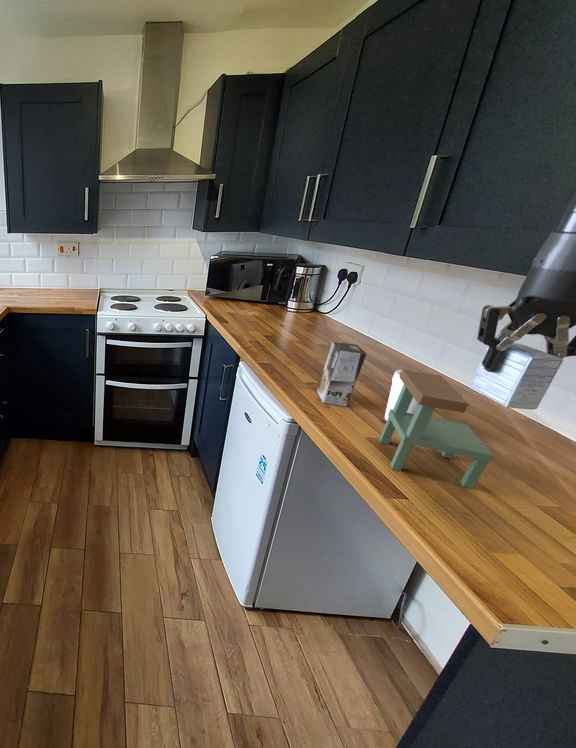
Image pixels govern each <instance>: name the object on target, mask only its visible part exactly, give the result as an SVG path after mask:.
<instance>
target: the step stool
mask: <svg viewBox="0 0 576 748" xmlns="http://www.w3.org/2000/svg"><path fill="white" fill-rule="evenodd" d="M401 370H402V372H401V374H400V377H399V378H400V379H401V380H402V382H403V383H404V385H403V387H402V390H401V392H400V394H399V397H398V399H397V402H396V404H395V406H394V409H393V410H391V409H390V411H389V414H388V416H389V417H388V419H387V421H386V422H385V424H384V427H383V429H382V431H381V434H380V436H379V439H378V441H379V443H380V444H384V445H389V444H390V441H391V439H392V437H393V435H394V432H395V431H396V433H397V435H398V437H399V439H400V442H399V444H398V446H397V448H396V451H395V453H394V455H393V458H392V459H391V462H390V464H389V465H390V469H391V470H394V471H398V472H401V471H402V468H403V466H404V464H405V462H406V460H407V458H408V455H409V453H410V451H411V449H412V447H413V446H415V447H421V448H425V449H429V450H434V451H439V452H441V455H442V457H443V458H446V459H450V460H453V459H454V456H455V455H457V456H461V457H466V458H470V459H472V460H471V462H470V463H469V466H468V467H467V469H466V470H465V473H464V474H463V476H462V478H461V479H460V482H459V483H460V484H461V486H462V487H463V488H468V489H471V490H474V488H475V486H476V485H477V483H478V481H479V480H480V477H481V476H482V474H483V473H484V470H486V467H487V465H488V463H492V461H493V459H494V456H495V454H493V453H492V451H490V449H489V448H488V447H487V445H485V443H484V442H483V441H482V440H481V439H480V438H479V437H478V435H477V434H476V433H475V431H473V430H472V428H471V427H470V426H469V425H468V424H467V423H461V422H457V421H451V420H447V419H442V418H436V417H432V416H433V414H434V411H435V410H436V409H441V410H445V411H450V412H457V413H462V414H465V413H466V410H467V409H468V406H469V405H470V404H469V402H467V400H466V399H465V398H464V397H463V396H462V395H461V394H460V393H459V392H458V391H457V390H456V389H455V388H454V387H453V386H452V385H451V384H450V383H449V382H448V381H447V380H446V379H445V378H444V377H443V376H442V375H439V374H434V373H427V372H421V371H417V372H416V370H410V369H401ZM413 397H414V399H415V400H416V401H417V403H418V404H419V405H418V407H417V409H416V412H415V414H411V413H407V410H408V408H409V406H410V404H411V401H412V399H413Z"/></svg>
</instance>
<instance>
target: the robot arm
mask: <svg viewBox="0 0 576 748" xmlns="http://www.w3.org/2000/svg"><path fill="white" fill-rule="evenodd" d="M519 288H520V289H519V290H518V293H517V296H516V297H515V299H514V300H513V301H512V302H511V303H509V304H508V305H505V306H504V305H503V306H493V305H490V304H488V305H484V306H483V307H482V310H481V314H480V315H481V316H480V320H479V326H478V331H477V340H478V341H479V342H480V343H482V344H484V345H485V346H488V347H489V349H488V348H487V349H488V351H487V350H486V351H487V353H486V352H485V353H486V355H485V354H484V355H485V357H484V356H483V357H484V359H483V358H482V359H483V361H482V360H481V362H482V365H483V366H484V369H485V370H486V371H488V372H492V373H495V372H496V370H497V368H498V366H499V364H500V362H501V360H502V358H503V357H504V355H505V353H506V352H505V351H503V350H505V349H506V348H508V347H509V346H510V345H511V344H512V343H516V342H517V341H519V340H521V339H522V338H523V337H525V336H526V335H530V336H532V335H540V336H543V337H544V340H545V348H546V353H548V354H551V355H554V356H557V357H559V358H562V359H563V360H564V358H567V357H576V335H574V337H573V338H571V340H570V329H572V328H574V327H576V191H574V192H573V193H572V194H571V195H570V196H569V197H568V198H567V200H566V201H565V203H564V204H563V207H562V208H561V210H560V213H559V215H558V217H557V219H556V220H555V223H554V225H553V227H552V229H551V232H550V233H549V234H548V236H547V237H546V239H545V240H544V242H543V243H542V244H541V247H540V248H539V250H538V252H537V254H536V256H534V258H533V260H532V264H531V266H530V269H529V270H528V272H527V274H526V276H525V278H524V280H523V282H522V284H521V287H519ZM507 314H508V317H509V319H510V322H508V323H507V324H506V325H505V326H504V327H503V328H502V329H501V330H500V333H498V334H497V335H496V333H497V329H498V323H499V321H501V320H503V319H504V317H505V316H506V315H507Z"/></svg>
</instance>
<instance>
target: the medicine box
mask: <svg viewBox="0 0 576 748" xmlns="http://www.w3.org/2000/svg"><path fill="white" fill-rule="evenodd" d="M488 349H489V346H488V347H487V349H486V351H485V354H484V356H483V357H482V360H481V361H480V364H479V366H478V368H477V369H476V372H475V374H474V376H473V378H472V380H471V383H470V385H469V389H471V390H473V391H475V392H477V393H478V394H481V395H482V396H484V397H486V398H489V399H490V400H492V401H494V402H496V403H498V404H500V405H502V406H503V407H505V408H509V409H520V410H531V411H532V410H537V409H538V408H539V406H540V404H541V402H542V400H543V399H544V397H545V395H546V393H547V391H548V390H549V388H550V386H551V384H552V382H553V381H554V378H555V376H556V375H557V373H558V371H559V369H560V367H561V366H562V364H563V362H564V358H563V359H562V358H559V357H557V356H554V355H551V354H548V353H547V351H546V352H545V351H543V350H540V349H536V348H534V347H530V346H528V345H525V344H521V343H516V342H513V343H512V344H511V345H510V346H509V347H508V348H506V349H505V350H503V351H505V352H506V353H505V355H504V357H503V358H502V360H501V362H500V364H499V366H498V368H497V370H496V372H495V373H492V372H488V371H486V370H485V369H484V366H483V365H482V361H483V359H484V357H485V355H486V353H487V351H488Z"/></svg>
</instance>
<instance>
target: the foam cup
mask: <svg viewBox="0 0 576 748" xmlns="http://www.w3.org/2000/svg"><path fill="white" fill-rule="evenodd" d="M402 370H403V369H398V370H395V372H394V374H393V376H392V379H391V381H392V383H391V386H390V391H389V396H388V399H387V404H386V408H385V409H386V410H385V413H384V420H385V421H386V422H387V419H388V417H389V416H388V414H389V411H390V409H391V410H393V409H394V406H395V404H396V402H397V399H398V397H399V394H400V392H401V390H402V387H403V385H404V383H403V382H402V380H401V379H400V378H399V377H400V374H401V372H402ZM415 371H416V370H415ZM416 372H418V370H417V371H416ZM418 405H419V404H418V403H417V401H416V400H415V399H414V397H413V399H412V401H411V404H410V406H409V408H408V410H407V413H411V414H415V412H416V409H417V407H418Z"/></svg>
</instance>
